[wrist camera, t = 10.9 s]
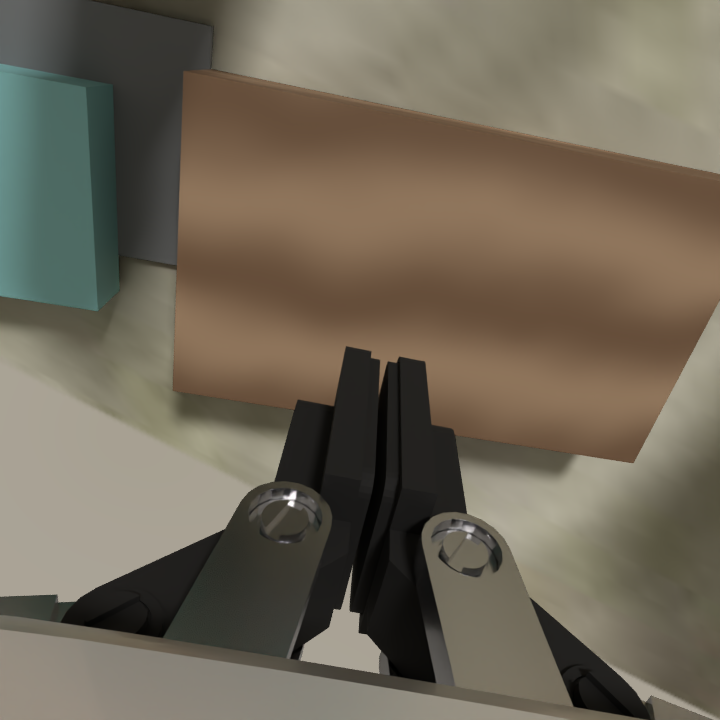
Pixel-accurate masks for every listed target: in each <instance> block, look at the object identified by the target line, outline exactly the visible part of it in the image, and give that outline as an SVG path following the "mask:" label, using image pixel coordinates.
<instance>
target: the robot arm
mask: <svg viewBox="0 0 720 720" xmlns="http://www.w3.org/2000/svg"><path fill="white" fill-rule="evenodd" d="M379 377H380V360H379V359H374V358H371V351H369V350H363V349H358V348H353V347H348V346H346V348H345V352H344V357H343V362H342V367H341V372H340V377H339V382H338V387H337V392H336V397H335V402H334V406H330V405H325V404H320V403H315V402H309V401H304V400H299V399H298V400H297V403H296V406H295V410H294V413H293V417H292V421H291V424H290V428H289V431H288V435H287V439H286V442H285V446H284V449H283V453H282V457H281V460H280V464H279V467H278V471H277V475H276V478H275V482H270V483H267V484H263V485H260V486H258V487H256V488H255V489H253V490H251V491H250V492H248V494H247V495H246V496H245V497H244V498H243V499H242V501H241V502H240V504H239V506H238V507H237V509H236V511H235V513H234V514H233V516H232V518H231V520H230V522H229V523H228V525H227V527H226V529H224V530H222V531H220V532H218V533H215V534H213V535H211V536H209V537H207V538H205V539H203V540H200V541H198V542H196V543H194V544H191V545H189V546H187V547H185V548H183V549H180V550H178V551H176V552H174V553H172V554H170V555H167V556H165V557H163V558H161V559H159V560H156V561H154V562H152V563H150V564H148V565H145V566H144V567H141V568H139V569H137V570H134V571H132V572H130V573H128V574H126V575H124V576H121V577H119V578H117V579H115V580H113V581H110V582H108V583H106V584H104V585H102V586H99V587H97V588H95V589H94V590H92V591H90V592H89V593H87V594H85V595H84V596H82V597H80V599H78V600H77V601H76V602H61V603H58V596H57V595H38V596H37V595H36V596H9V597H0V720H712V719H709V718H707V717H705V716H702V715H699V714H697V713H694V712H692V711H689V710H687V709H684V708H681V707H679V706H676V705H673V704H671V703H668V702H666V701H664V700H661V699H659V698H656V697H653V696H650V698H649V699H648V701H646V702H644V701H642V700H640V698H639V697H638V695H637V693H636V692H635V691H634V690H633V689H632V688H631V687H630V686H629V684H628V683H627V682H626V681H625V680H624V679H623V678H622V677H621V676H619V675H618V674H617V673H616V672H615V671H614V670H613V669H612V668H610V667H609V666H608V665H607V664H606V663H605V662H603V661H602V660H601V659H600V658H599V657H598V656H597V655H595V654H594V653H593V652H592V651H591V650H590V649H589V648H587V647H586V646H585V645H584V644H583V643H582V642H581V641H579V640H578V639H577V638H576V637H575V636H574V635H573V634H571V633H570V632H569V631H568V630H567V629H566V628H564V627H563V626H562V625H561V624H560V623H559V622H558V621H556V620H555V619H554V618H553V617H552V616H551V615H550V614H548V613H547V612H546V611H545V610H544V609H543V608H542V607H540V606H539V605H538V604H537V603H536V602H535V601H534V600H532V599H531V598H530V597H529V595H528V592H527V590H526V587H525V585H524V582H523V580H522V577H521V575H520V573H519V570H518V568H517V565H516V563H515V560H514V558H513V555H512V553H511V550H510V548H509V546H508V545H507V543H506V541H505V540H504V538H503V537H502V536H501V535H500V534H499V533H498V532H497V531H496V530H495V529H494V528H493V527H492V526H490V525H489V524H487V523H486V522H484V521H483V520H481V519H478V518H476V517H474V516H471V515H469V514H467V511H466V504H465V498H464V491H463V485H462V478H461V472H460V465H459V459H458V452H457V446H456V439H455V434H454V430H453V429H452V428H447V427H442V426H436V425H432V424H431V414H430V404H429V393H428V383H427V373H426V363H425V361H420V360H415V359H410V358H405V357H400V356H399V358H398V360H397V363H395V362H390V361H388V362H387V365H386V369H385V373H384V377H383V381H382V385H381V389H380V393H379ZM352 566H353V571H352V583H351V596H350V612H356V613H360V618H359V633H361V634H367V635H368V636H369V637H370V638H371V639H372V641H373V642H374V643H375V644H376V645H377V646H378V647H379V649H380V650H381V653H380V656H379V672H380V674H377V673H371V672H365V671H359V670H353V669H346V668H341V667H335V666H329V665H323V664H317V663H311V662H305V661H300V659H301V657H302V653H303V648H304V644H305V643H306V642H308V641H309V640H311V639H312V638H314V637H315V636H317V635H318V634H320V633H321V632H323V631H324V630H326V629H327V628H328V627H329V625H330V621H331V617H332V613H333V610H334V609H339V610H340V609H341V607H342V603H343V599H344V596H345V592H346V588H347V584H348V581H349V577H350V573H351V570H352Z"/></svg>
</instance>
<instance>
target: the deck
mask: <svg viewBox="0 0 720 720" xmlns="http://www.w3.org/2000/svg"><path fill="white" fill-rule="evenodd" d="M719 300H720V175H719V174H716V173H711V172H706V171H702V170H697V169H692V168H687V167H682V166H677V165H673V164H668V163H663V162H658V161H653V160H648V159H644V158H639V157H634V156H629V155H624V154H619V153H615V152H610V151H605V150H600V149H595V148H590V147H586V146H581V145H576V144H571V143H566V142H561V141H557V140H552V139H547V138H542V137H537V136H532V135H528V134H523V133H518V132H513V131H508V130H503V129H498V128H494V127H489V126H484V125H479V124H474V123H469V122H465V121H460V120H455V119H450V118H445V117H440V116H436V115H431V114H426V113H421V112H416V111H411V110H407V109H402V108H397V107H392V106H387V105H382V104H378V103H373V102H368V101H363V100H358V99H353V98H349V97H344V96H339V95H334V94H329V93H324V92H320V91H315V90H310V89H305V88H300V87H295V86H291V85H286V84H281V83H276V82H271V81H266V80H262V79H257V78H252V77H247V76H242V75H237V74H232V73H228V72H223V71H218V70H213V69H205V70H190V71H184V72H183V101H182V131H181V161H180V191H179V220H178V250H177V280H176V309H175V339H174V369H173V391H177V392H184V393H190V394H197V395H203V396H209V397H216V398H222V399H228V400H235V401H241V402H247V403H254V404H260V405H266V406H273V407H279V408H285V409H292V410H295V406H296V403H297V400H298V399H299V400H304V401H309V402H315V403H320V404H325V405H330V406H334V402H335V397H336V392H337V387H338V382H339V377H340V372H341V367H342V362H343V357H344V352H345V348H346V346H348V347H353V348H358V349H363V350H369V351H371V358H374V359H379V360H380V377H379V393H380V389H381V385H382V381H383V377H384V373H385V369H386V365H387V362H388V361H390V362H395V363H397V360H398V358H399V356H400V357H405V358H410V359H415V360H420V361H425V363H426V373H427V383H428V393H429V404H430V414H431V424H432V425H436V426H442V427H447V428H452V429H453V430H454V434H455V435H457V436H463V437H470V438H476V439H482V440H489V441H495V442H501V443H508V444H514V445H521V446H527V447H533V448H540V449H546V450H552V451H559V452H565V453H571V454H578V455H584V456H590V457H597V458H603V459H609V460H616V461H622V462H629V463H634V461H635V459H636V457H637V455H638V454H639V452H640V450H641V448H642V446H643V444H644V442H645V440H646V438H647V437H648V435H649V433H650V431H651V429H652V427H653V425H654V423H655V421H656V420H657V418H658V416H659V414H660V412H661V410H662V408H663V406H664V404H665V402H666V401H667V399H668V397H669V395H670V393H671V391H672V389H673V387H674V385H675V384H676V382H677V380H678V378H679V376H680V374H681V372H682V370H683V368H684V367H685V365H686V363H687V361H688V359H689V357H690V355H691V353H692V351H693V350H694V348H695V346H696V344H697V342H698V340H699V338H700V336H701V334H702V333H703V331H704V329H705V327H706V325H707V323H708V321H709V319H710V317H711V316H712V314H713V312H714V310H715V308H716V306H717V304H718V302H719Z"/></svg>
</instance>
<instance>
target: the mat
mask: <svg viewBox="0 0 720 720" xmlns="http://www.w3.org/2000/svg"><path fill="white" fill-rule="evenodd" d="M213 30H214V27H213V26H208V25H203V24H199V23H194V22H189V21H185V20H180V19H175V18H170V17H166V16H161V15H156V14H152V13H147V12H142V11H138V10H133V9H128V8H124V7H119V6H114V5H110V4H105V3H100V2H95V1H91V0H0V64H5V65H10V66H16V67H21V68H27V69H32V70H37V71H43V72H48V73H53V74H59V75H64V76H69V77H75V78H80V79H86V80H91V81H96V82H102V83H107V84H112V85H113V105H114V136H115V167H116V197H117V228H118V255H120V256H126V257H131V258H137V259H143V260H149V261H154V262H160V263H166V264H171V265H177V250H178V220H179V191H180V161H181V131H182V101H183V72H184V71H190V70H205V69H211V66H212V48H213Z"/></svg>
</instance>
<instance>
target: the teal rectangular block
mask: <svg viewBox="0 0 720 720" xmlns="http://www.w3.org/2000/svg"><path fill="white" fill-rule="evenodd" d="M119 291H120V289H119V258H118V228H117V197H116V167H115V136H114V105H113V85H112V84H107V83H102V82H96V81H91V80H86V79H80V78H75V77H69V76H64V75H59V74H53V73H48V72H43V71H37V70H32V69H27V68H21V67H16V66H10V65H5V64H0V296H3V297H9V298H16V299H22V300H29V301H35V302H42V303H48V304H55V305H61V306H67V307H74V308H80V309H87V310H93V311H99V310H100V309H101V308H102V307H103V306H104V305H105V304H106V303H107V302H108V301H109V300H110V299H111V298H112V297H113V296H114V295H115V294H116V293H118V292H119Z"/></svg>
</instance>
